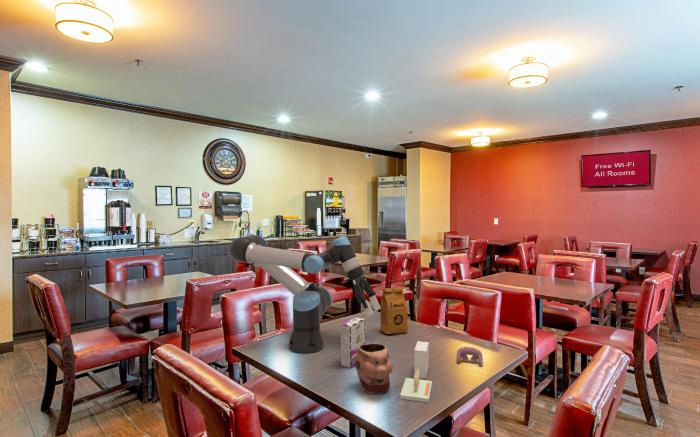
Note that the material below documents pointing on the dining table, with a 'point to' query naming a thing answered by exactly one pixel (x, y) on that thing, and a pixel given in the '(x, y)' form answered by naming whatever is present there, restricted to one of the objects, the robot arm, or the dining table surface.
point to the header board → (416, 389)
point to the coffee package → (393, 311)
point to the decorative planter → (373, 367)
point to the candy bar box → (351, 340)
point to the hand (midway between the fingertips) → (374, 312)
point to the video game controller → (469, 351)
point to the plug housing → (421, 359)
